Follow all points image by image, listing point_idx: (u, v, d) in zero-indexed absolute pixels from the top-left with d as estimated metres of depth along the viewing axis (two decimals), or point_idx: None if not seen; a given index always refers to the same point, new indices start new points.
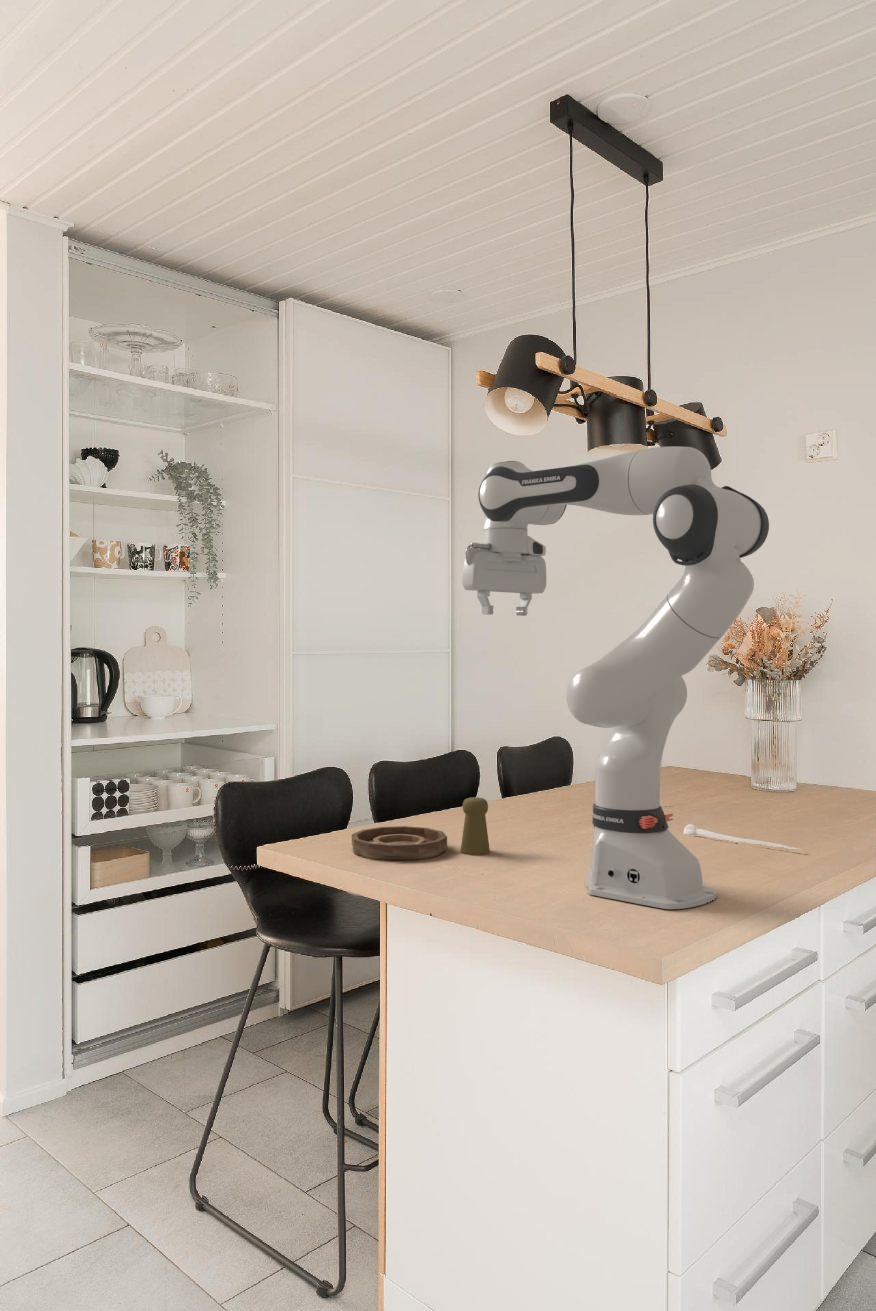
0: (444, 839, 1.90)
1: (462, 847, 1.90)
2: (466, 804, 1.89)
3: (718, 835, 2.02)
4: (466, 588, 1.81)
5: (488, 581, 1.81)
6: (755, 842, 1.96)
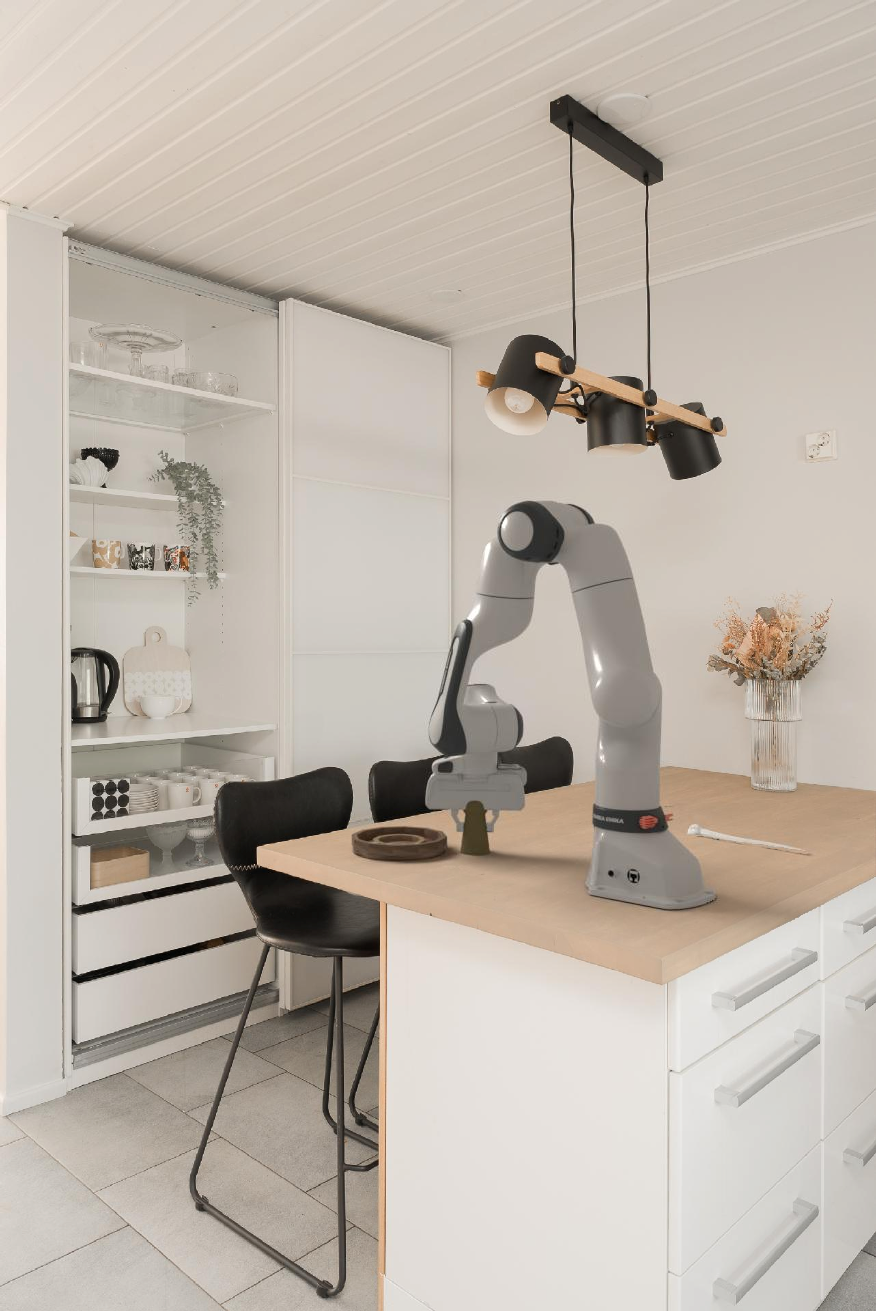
0: (444, 839, 1.90)
1: (462, 847, 1.90)
2: None
3: (722, 835, 2.02)
4: (522, 808, 1.89)
5: None
6: (758, 842, 1.96)
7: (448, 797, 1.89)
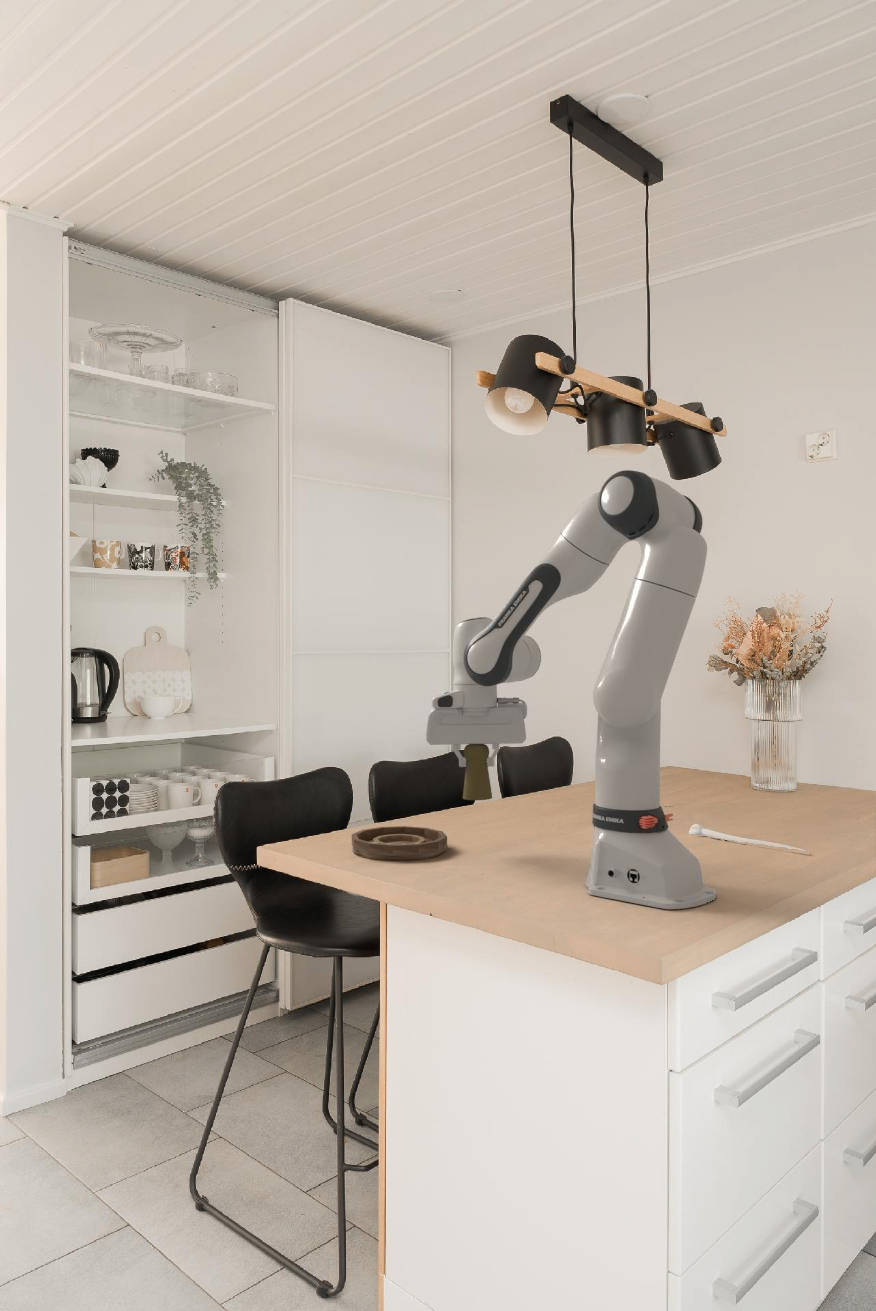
0: (444, 839, 1.90)
1: (464, 793, 1.89)
2: (466, 749, 1.89)
3: (723, 835, 2.02)
4: (523, 741, 1.89)
5: None
6: (759, 842, 1.96)
7: (449, 732, 1.89)
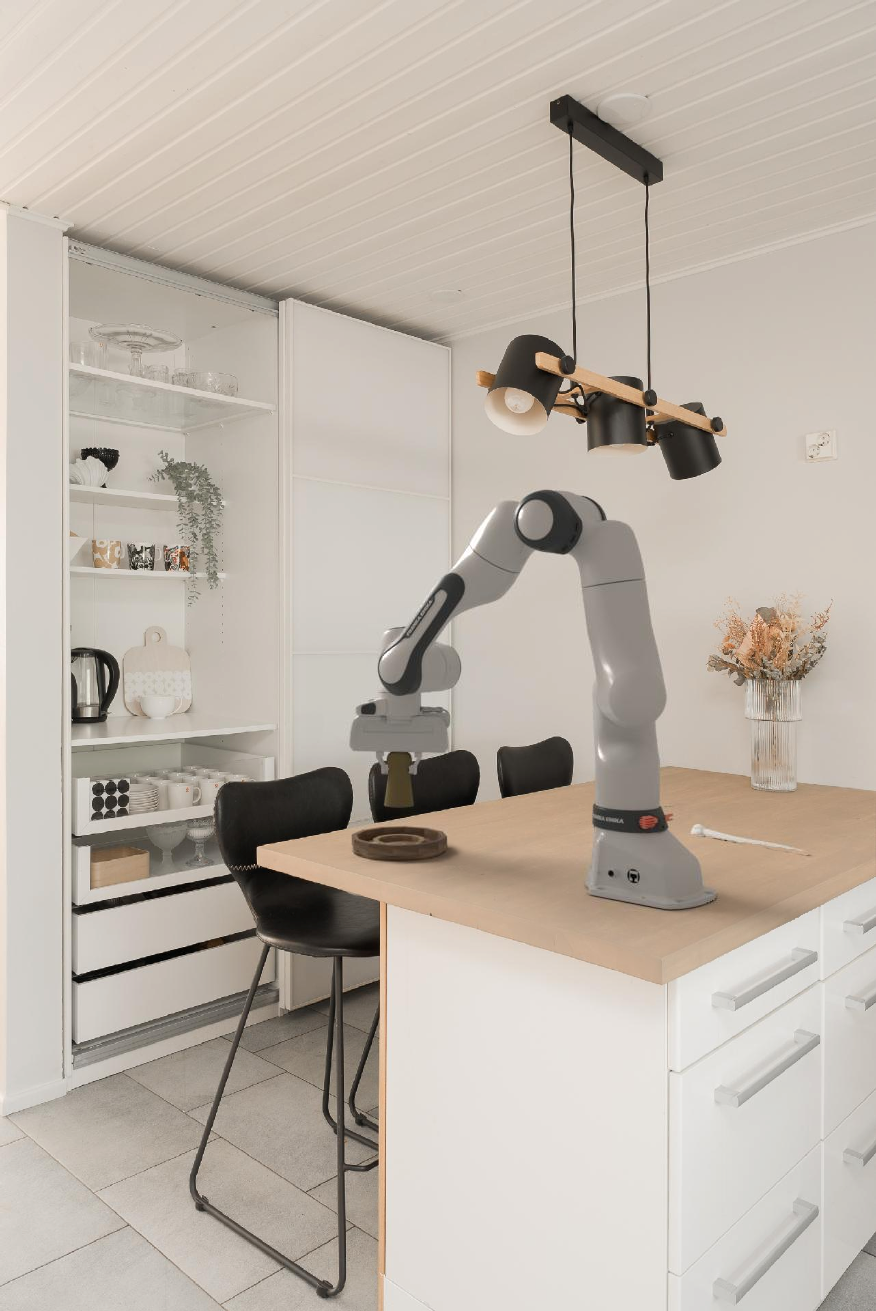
0: (444, 839, 1.90)
1: (385, 799, 1.91)
2: (389, 756, 1.90)
3: (724, 835, 2.02)
4: None
5: None
6: (760, 843, 1.96)
7: (372, 739, 1.90)
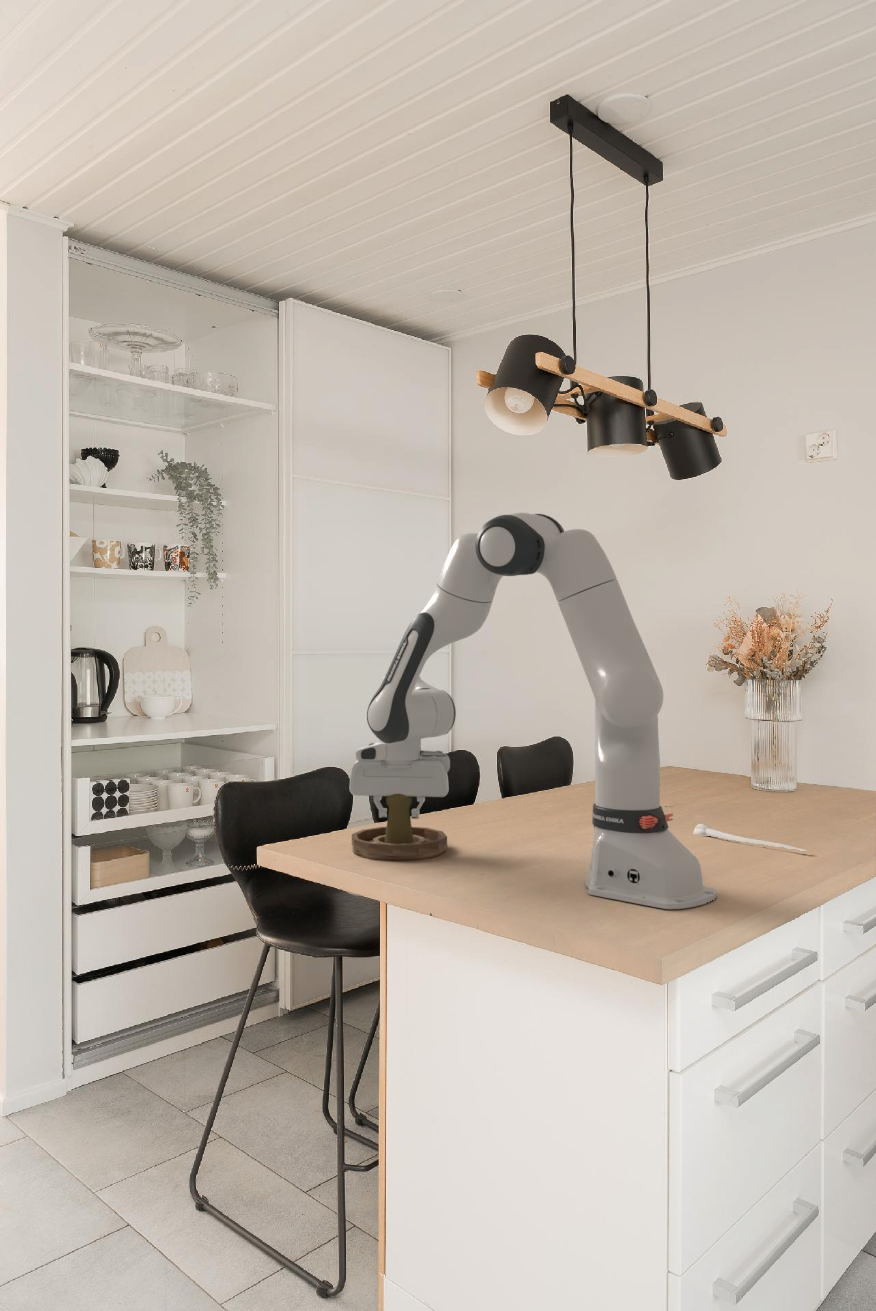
0: (444, 839, 1.90)
1: (385, 840, 1.91)
2: (389, 797, 1.90)
3: (727, 835, 2.02)
4: (445, 795, 1.90)
5: None
6: (762, 842, 1.96)
7: (372, 784, 1.90)
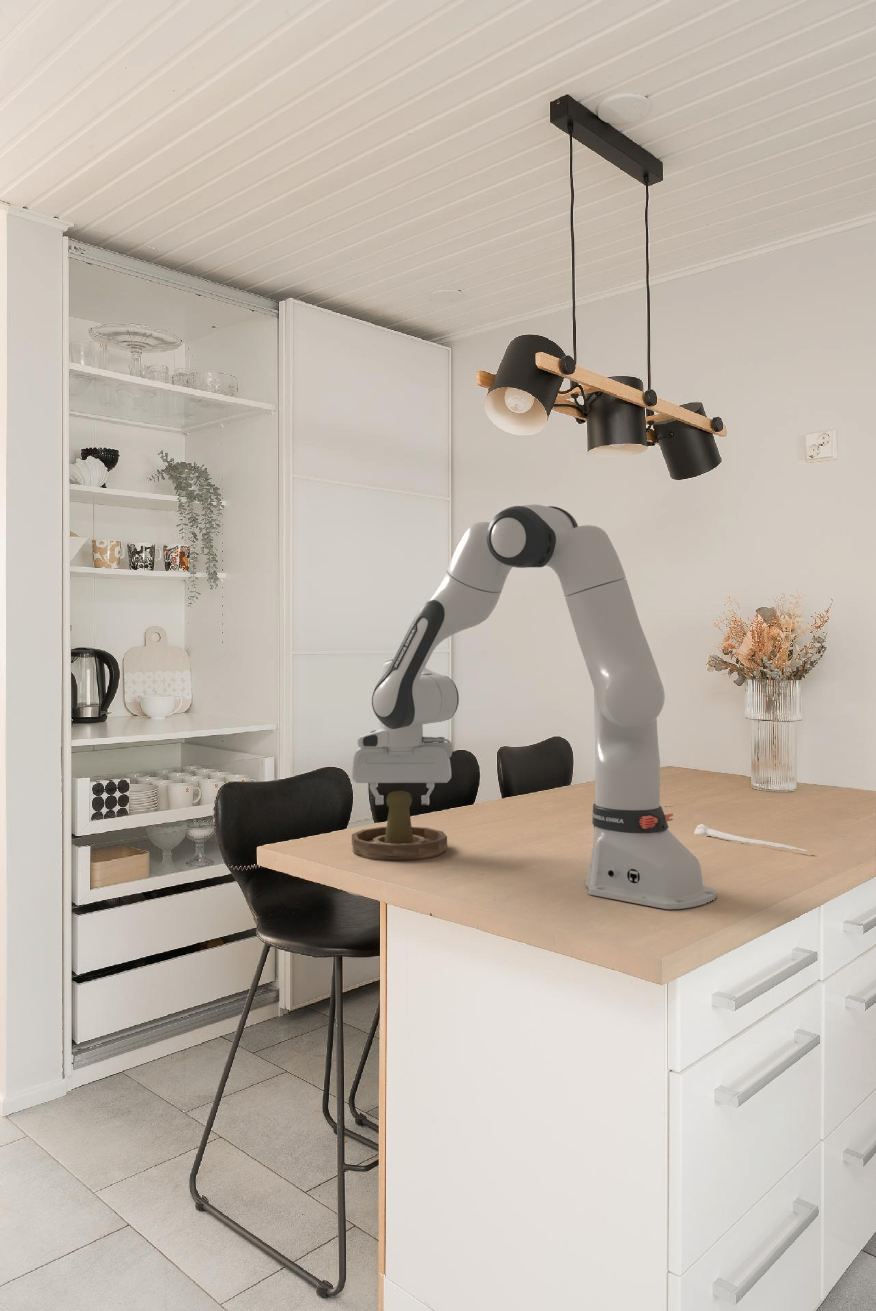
0: (444, 839, 1.90)
1: (385, 840, 1.91)
2: (389, 797, 1.90)
3: (728, 835, 2.02)
4: None
5: None
6: (764, 843, 1.96)
7: (374, 771, 1.91)
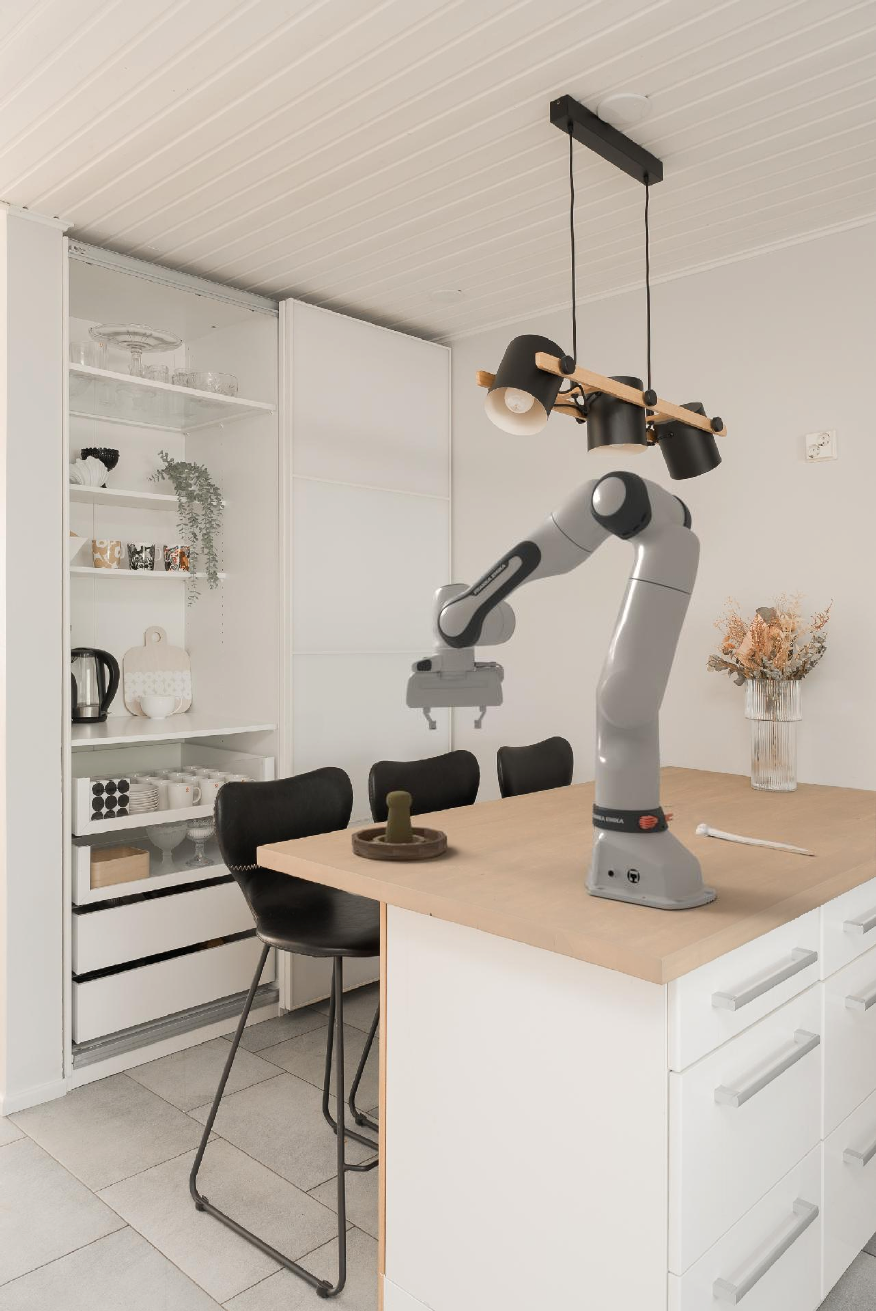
0: (444, 839, 1.90)
1: (385, 840, 1.91)
2: (389, 797, 1.90)
3: (729, 835, 2.02)
4: None
5: None
6: (764, 842, 1.95)
7: (428, 696, 1.94)
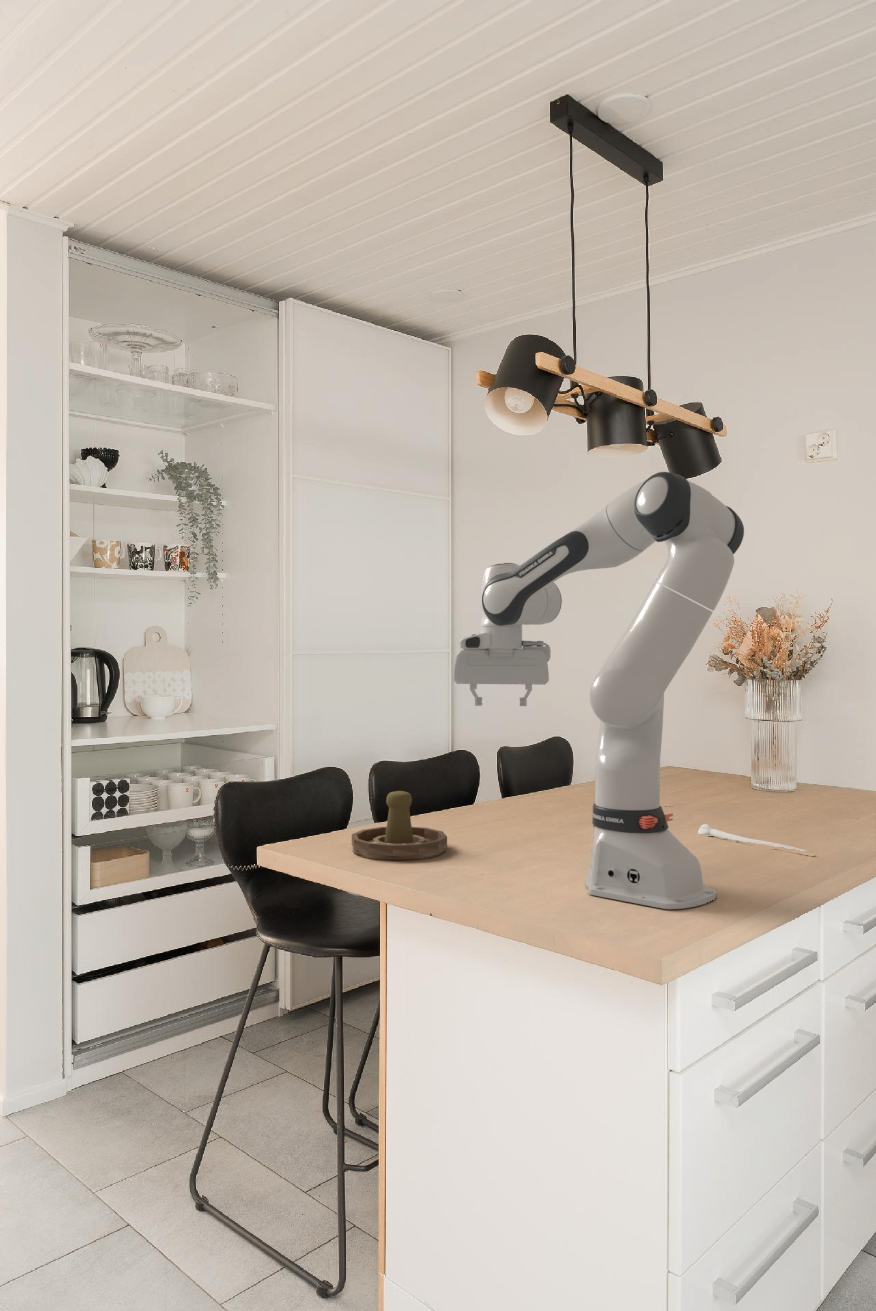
0: (444, 839, 1.90)
1: (385, 840, 1.91)
2: (389, 797, 1.90)
3: (730, 835, 2.02)
4: None
5: None
6: (765, 843, 1.95)
7: (475, 672, 1.98)
